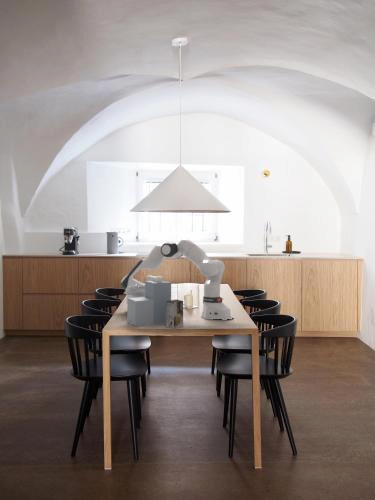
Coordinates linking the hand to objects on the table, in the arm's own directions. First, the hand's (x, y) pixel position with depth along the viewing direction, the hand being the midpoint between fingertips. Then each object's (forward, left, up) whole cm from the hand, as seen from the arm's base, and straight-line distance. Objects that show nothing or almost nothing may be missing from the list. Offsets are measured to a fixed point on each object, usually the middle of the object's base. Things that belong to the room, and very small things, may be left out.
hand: (143, 285), depth 333 cm
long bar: (-15, +10, +5) cm, 19 cm away
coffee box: (-37, +20, -21) cm, 47 cm away
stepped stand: (-17, +18, -21) cm, 32 cm away
